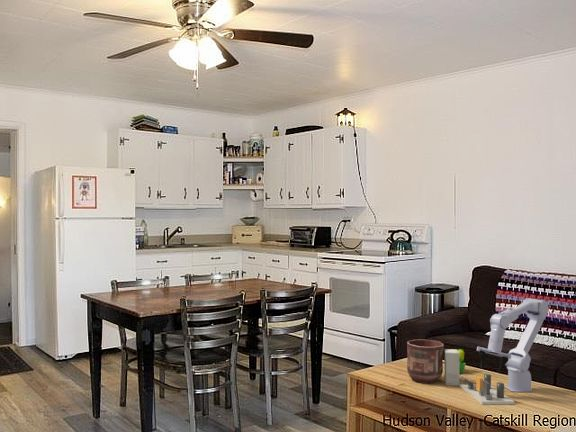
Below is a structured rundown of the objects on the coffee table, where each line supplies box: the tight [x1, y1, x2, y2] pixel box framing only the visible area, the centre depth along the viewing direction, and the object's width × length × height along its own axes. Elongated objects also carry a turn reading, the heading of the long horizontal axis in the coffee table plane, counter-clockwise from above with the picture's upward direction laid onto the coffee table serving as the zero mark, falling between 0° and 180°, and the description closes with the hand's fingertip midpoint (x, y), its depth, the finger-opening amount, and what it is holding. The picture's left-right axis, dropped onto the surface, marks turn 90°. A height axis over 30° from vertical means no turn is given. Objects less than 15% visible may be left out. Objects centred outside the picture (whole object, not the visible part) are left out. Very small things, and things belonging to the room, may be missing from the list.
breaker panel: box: [459, 373, 515, 406], centre depth 241 cm, size 14×24×7 cm, turn 4°
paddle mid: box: [475, 375, 484, 392], centre depth 240 cm, size 1×4×7 cm, turn 4°
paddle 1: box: [460, 375, 475, 388], centre depth 247 cm, size 1×4×7 cm
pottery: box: [406, 338, 445, 384], centre depth 263 cm, size 18×18×18 cm
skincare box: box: [443, 348, 461, 387], centre depth 258 cm, size 8×7×16 cm
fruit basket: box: [457, 348, 467, 374], centre depth 280 cm, size 11×9×11 cm
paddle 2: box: [483, 380, 490, 397], centre depth 233 cm, size 1×4×7 cm, turn 3°
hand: (490, 371), depth 241 cm, fingers open, 7 cm apart
